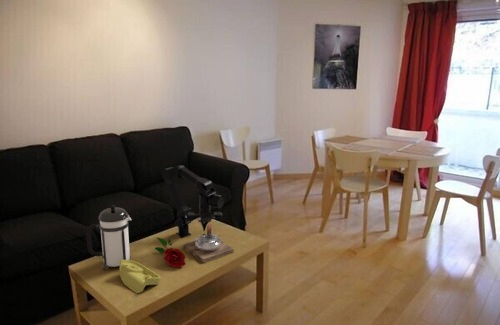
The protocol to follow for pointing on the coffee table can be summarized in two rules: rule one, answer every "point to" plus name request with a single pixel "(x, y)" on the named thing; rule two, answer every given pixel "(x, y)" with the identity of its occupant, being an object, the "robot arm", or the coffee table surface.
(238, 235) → the coffee table surface
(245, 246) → the coffee table surface
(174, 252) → the flower
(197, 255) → the square disc baseplate
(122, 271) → the plastic component
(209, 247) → the round disc with cubes
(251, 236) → the coffee table surface
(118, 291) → the coffee table surface
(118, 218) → the coffee press
